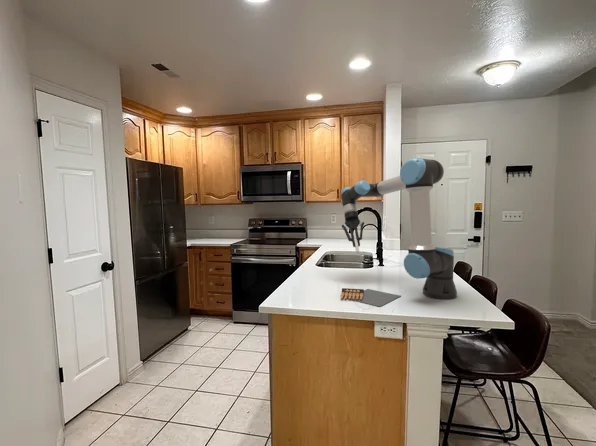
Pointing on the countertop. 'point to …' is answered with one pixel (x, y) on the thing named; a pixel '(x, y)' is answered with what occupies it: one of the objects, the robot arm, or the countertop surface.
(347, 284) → the countertop surface
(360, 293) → the ammunition clip
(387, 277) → the countertop surface
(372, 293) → the rubber mat
